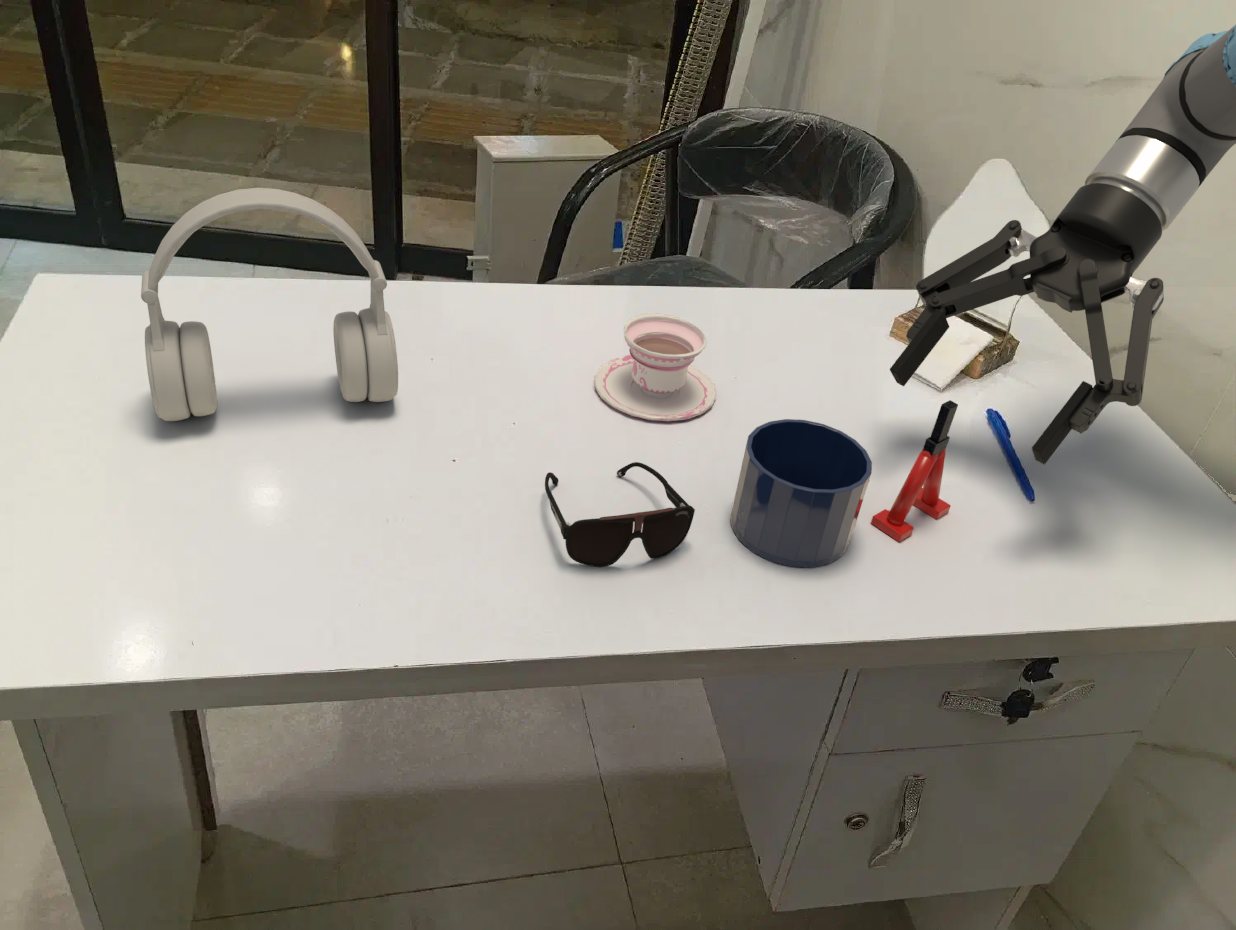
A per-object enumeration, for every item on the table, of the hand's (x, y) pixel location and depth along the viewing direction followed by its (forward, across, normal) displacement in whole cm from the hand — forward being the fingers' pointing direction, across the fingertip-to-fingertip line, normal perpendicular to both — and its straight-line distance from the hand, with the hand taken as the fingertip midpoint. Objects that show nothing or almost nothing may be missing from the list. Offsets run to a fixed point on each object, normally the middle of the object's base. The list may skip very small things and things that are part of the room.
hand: (963, 415), depth 81 cm
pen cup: (+16, +5, +3) cm, 17 cm away
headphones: (+34, +43, +21) cm, 59 cm away
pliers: (+9, 0, -4) cm, 10 cm away
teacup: (+13, +27, -1) cm, 30 cm away
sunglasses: (+25, +14, +11) cm, 30 cm away
